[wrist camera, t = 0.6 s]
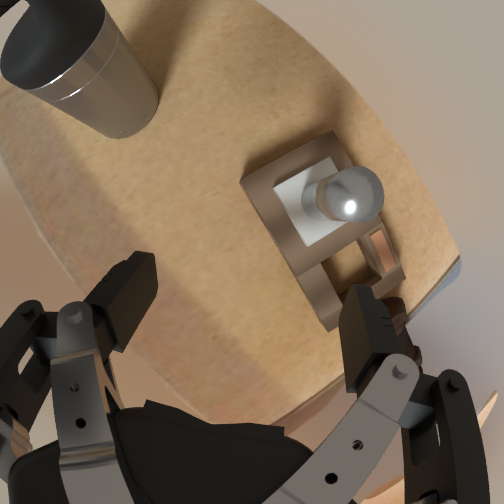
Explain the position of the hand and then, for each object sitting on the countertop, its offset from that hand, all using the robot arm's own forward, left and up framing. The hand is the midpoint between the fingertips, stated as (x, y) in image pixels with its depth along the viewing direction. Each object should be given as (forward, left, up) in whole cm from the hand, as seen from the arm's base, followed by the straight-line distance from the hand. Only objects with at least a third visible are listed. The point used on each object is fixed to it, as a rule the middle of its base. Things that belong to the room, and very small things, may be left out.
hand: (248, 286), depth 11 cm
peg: (0, +9, -17) cm, 20 cm away
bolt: (+24, +11, -22) cm, 34 cm away
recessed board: (+4, +9, -21) cm, 24 cm away
